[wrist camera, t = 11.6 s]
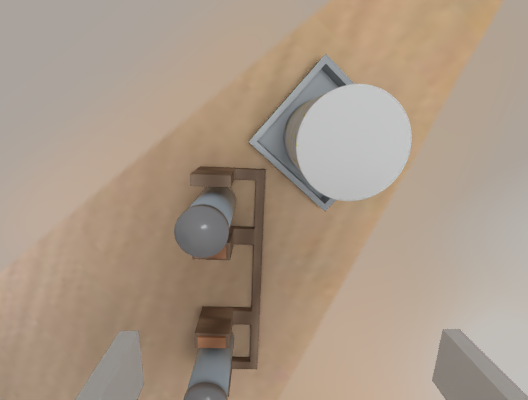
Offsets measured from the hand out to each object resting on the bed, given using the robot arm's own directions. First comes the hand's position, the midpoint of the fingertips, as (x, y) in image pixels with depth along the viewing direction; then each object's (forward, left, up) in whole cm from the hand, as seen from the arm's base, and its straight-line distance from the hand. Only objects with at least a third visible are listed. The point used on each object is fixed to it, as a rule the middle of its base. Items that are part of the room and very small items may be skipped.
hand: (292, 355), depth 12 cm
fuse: (-6, -19, -23) cm, 30 cm away
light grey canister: (+5, +8, -22) cm, 24 cm away
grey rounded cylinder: (-6, 0, -23) cm, 24 cm away
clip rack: (-5, -9, -23) cm, 25 cm away
